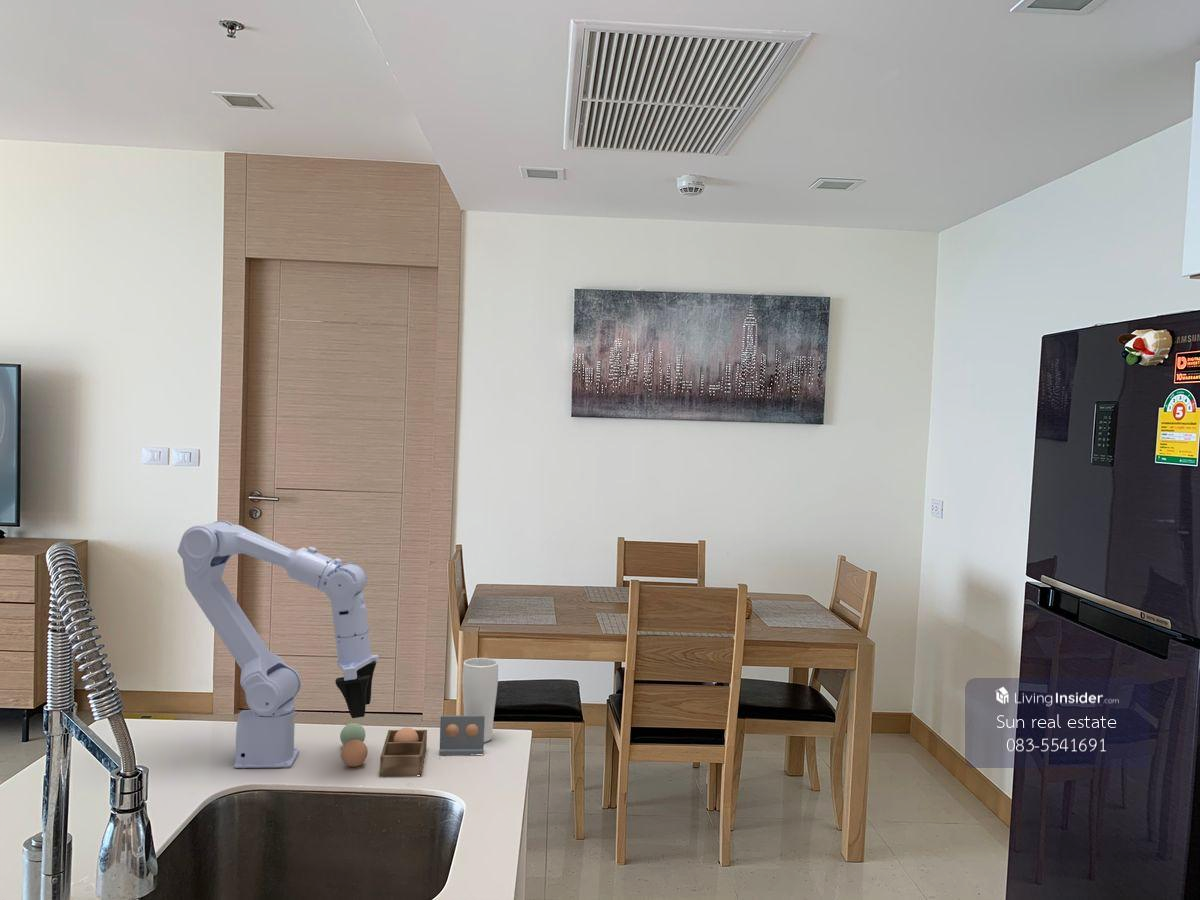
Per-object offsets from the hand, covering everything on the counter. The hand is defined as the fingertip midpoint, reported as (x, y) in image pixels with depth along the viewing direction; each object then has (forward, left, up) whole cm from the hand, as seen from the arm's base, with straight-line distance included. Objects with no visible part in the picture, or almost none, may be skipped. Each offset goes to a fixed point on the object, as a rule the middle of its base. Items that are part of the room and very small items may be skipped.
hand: (361, 710), depth 160 cm
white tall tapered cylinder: (+21, +13, -10) cm, 26 cm away
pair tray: (+8, +1, -10) cm, 12 cm away
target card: (+18, +6, -10) cm, 21 cm away
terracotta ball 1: (-1, 0, -7) cm, 8 cm away
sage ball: (-2, +9, -7) cm, 12 cm away
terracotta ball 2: (+8, +5, -7) cm, 11 cm away
